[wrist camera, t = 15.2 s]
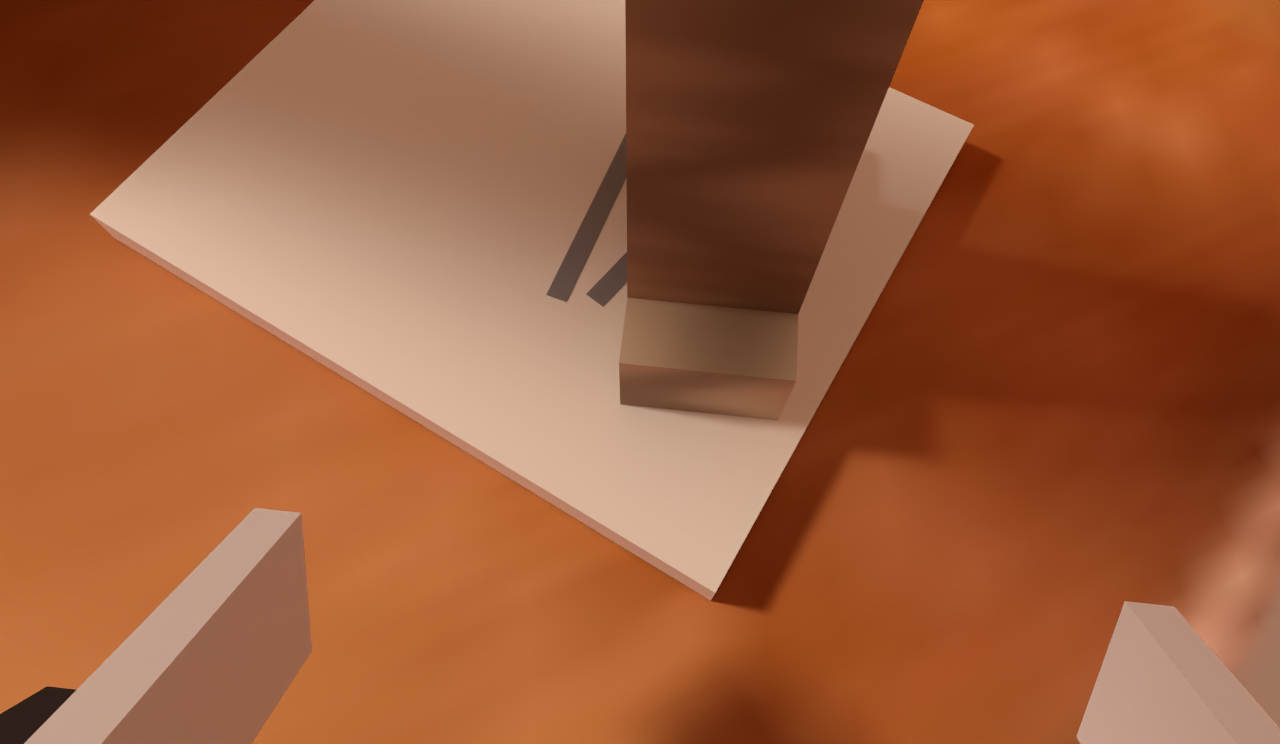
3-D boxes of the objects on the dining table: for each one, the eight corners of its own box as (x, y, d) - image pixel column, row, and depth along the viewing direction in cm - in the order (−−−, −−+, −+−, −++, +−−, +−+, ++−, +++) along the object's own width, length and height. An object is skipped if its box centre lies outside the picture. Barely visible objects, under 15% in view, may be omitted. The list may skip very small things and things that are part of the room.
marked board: (114, 237, 24) (89, 213, 23) (442, -84, 30) (434, -115, 29) (710, 600, 20) (715, 592, 19) (959, 150, 26) (974, 124, 25)
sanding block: (620, 403, 21) (608, 36, 10) (654, 123, 25) (674, -373, 14) (778, 420, 21) (944, 65, 10) (789, 136, 24) (919, -356, 13)
